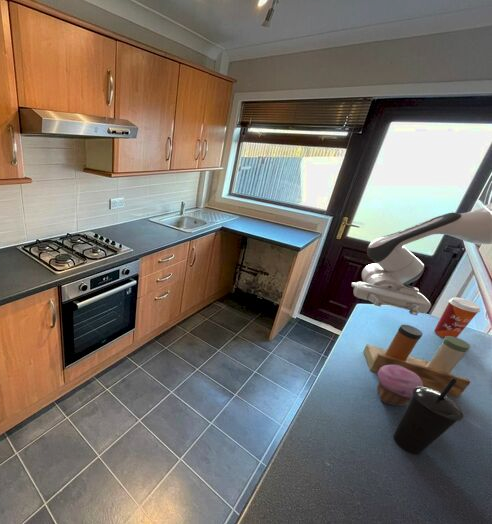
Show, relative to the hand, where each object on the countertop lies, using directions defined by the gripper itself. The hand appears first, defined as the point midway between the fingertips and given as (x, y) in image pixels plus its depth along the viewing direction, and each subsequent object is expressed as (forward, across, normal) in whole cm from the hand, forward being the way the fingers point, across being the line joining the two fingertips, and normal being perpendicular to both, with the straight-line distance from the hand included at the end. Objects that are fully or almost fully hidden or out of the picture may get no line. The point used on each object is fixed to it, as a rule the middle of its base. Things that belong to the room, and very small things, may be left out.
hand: (396, 308), depth 89 cm
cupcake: (+27, -4, +14) cm, 31 cm away
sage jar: (+12, +10, +11) cm, 19 cm away
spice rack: (+13, +4, +14) cm, 19 cm away
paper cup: (-18, +24, +14) cm, 33 cm away
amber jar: (+12, 0, +11) cm, 16 cm away
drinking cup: (+40, -4, +14) cm, 43 cm away
